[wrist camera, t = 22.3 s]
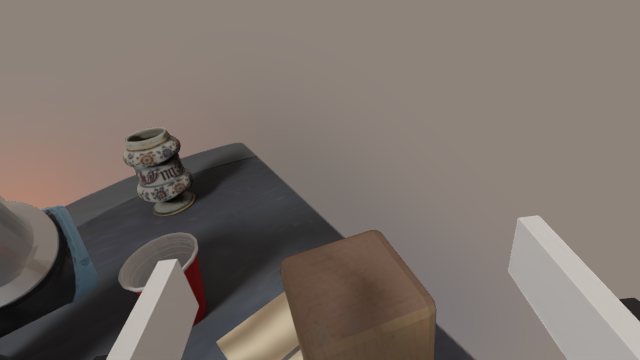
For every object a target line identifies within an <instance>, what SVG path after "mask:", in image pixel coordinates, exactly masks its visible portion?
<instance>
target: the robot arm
mask: <svg viewBox="0 0 640 360" xmlns="http://www.w3.org/2000/svg"><path fill="white" fill-rule="evenodd" d="M508 272H509V273H510V275H511V277H512V278H513V280H514V281H515V283H516V284H517V286H518V287H519V289H520V290H521V292H522V293H523V295H524V296H525V298H526V299H527V301H528V302H529V304H530V305H531V307H532V308H533V310H534V311H535V313H536V314H537V315H538V317H539V319H540V320H541V322H542V323H543V325H544V326H545V327H546V329H547V331H548V332H549V333H550V335H551V337H552V338H553V339H554V341H555V343H556V344H557V346H558V347H559V348H560V350H561V351H562V353H563V355H564V356H565V358H566V359H567V360H640V301H638V300H637V299H635V298H627V299H618V298H617V297H616V296H615V295H614V294H613V293H612V292H611V291H610V290H609V289H608V288H607V287H606V286H605V285H604V284H603V283H602V281H601V280H600V279H599V278H598V277H597V276H596V275H595V274H594V273H593V272H592V271H591V270H590V269H589V268H588V267H587V266H586V265H585V264H584V262H583V261H582V260H581V259H580V258H579V257H578V256H577V255H576V254H575V253H574V252H573V251H572V250H571V249H570V248H569V247H568V246H567V245H566V244H565V242H563V240H562V239H561V238H560V237H559V236H558V235H557V234H556V233H555V232H554V231H553V230H552V229H551V228H550V227H549V226H548V225H547V224H546V222H545V221H543V219H542V218H541V217H540V216H530V217H522V218H518V220H517V225H516V231H515V236H514V241H513V247H512V252H511V257H510V262H509V268H508ZM97 283H98V275H97V273H96V270H95V268H94V266H93V264H92V261H91V259H90V257H89V255H88V252H87V250H86V248H85V245H84V243H83V241H82V239H81V237H80V234H79V232H78V230H77V228H76V226H75V224H74V222H73V220H72V218H71V216H70V214H69V212H68V211H67V209H66V208H65V207H64V206H55V207H52V208H50V207H47V208H45V209H43V210H42V211H41V210H40V209H38V208H36V207H33V206H31V205H28V204H25V203H21V202H16V201H6V200H5V199H3V198H2V197H1V196H0V338H1V337H3V336H5V335H7V334H9V333H11V332H13V331H15V330H17V329H19V328H21V327H23V326H25V325H27V324H29V323H31V322H33V321H35V320H37V319H39V318H41V317H43V316H45V315H46V314H48V313H50V312H52V311H54V310H56V309H58V308H60V307H62V306H64V305H66V304H71V303H73V302H75V301H76V300H77V299H78V298H79V297H81V296H83V295H85V294H86V293H88V292H90V291H92V290H93V289H94V288H95V287H96V285H97ZM198 308H199V305H198V302H197V300H196V298H195V296H194V294H193V292H192V289H191V287H190V285H189V283H188V281H187V278H186V276H185V274H184V272H183V270H182V268H181V265H180V263H179V261H178V259H171V260H163V261H158V263H157V265H156V267H155V269H154V270H153V272H152V274H151V276H150V278H149V280H148V282H147V284H146V286H145V287H144V289H143V291H142V293H141V295H140V297H139V299H138V301H137V302H136V304H135V306H134V308H133V310H132V312H131V314H130V316H129V317H128V319H127V321H126V323H125V325H124V327H123V329H122V331H121V332H120V334H119V336H118V338H117V340H116V342H115V344H114V346H113V347H112V349H111V351H110V353H109V355H104V356H96V357H95V358H94V359H93V360H181V358H182V355H183V352H184V349H185V346H186V343H187V340H188V337H189V334H190V331H191V328H192V326H193V323H194V320H195V317H196V314H197V311H198ZM0 360H16V359H13V358H10V357H7V356H4V355H1V354H0Z"/></svg>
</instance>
